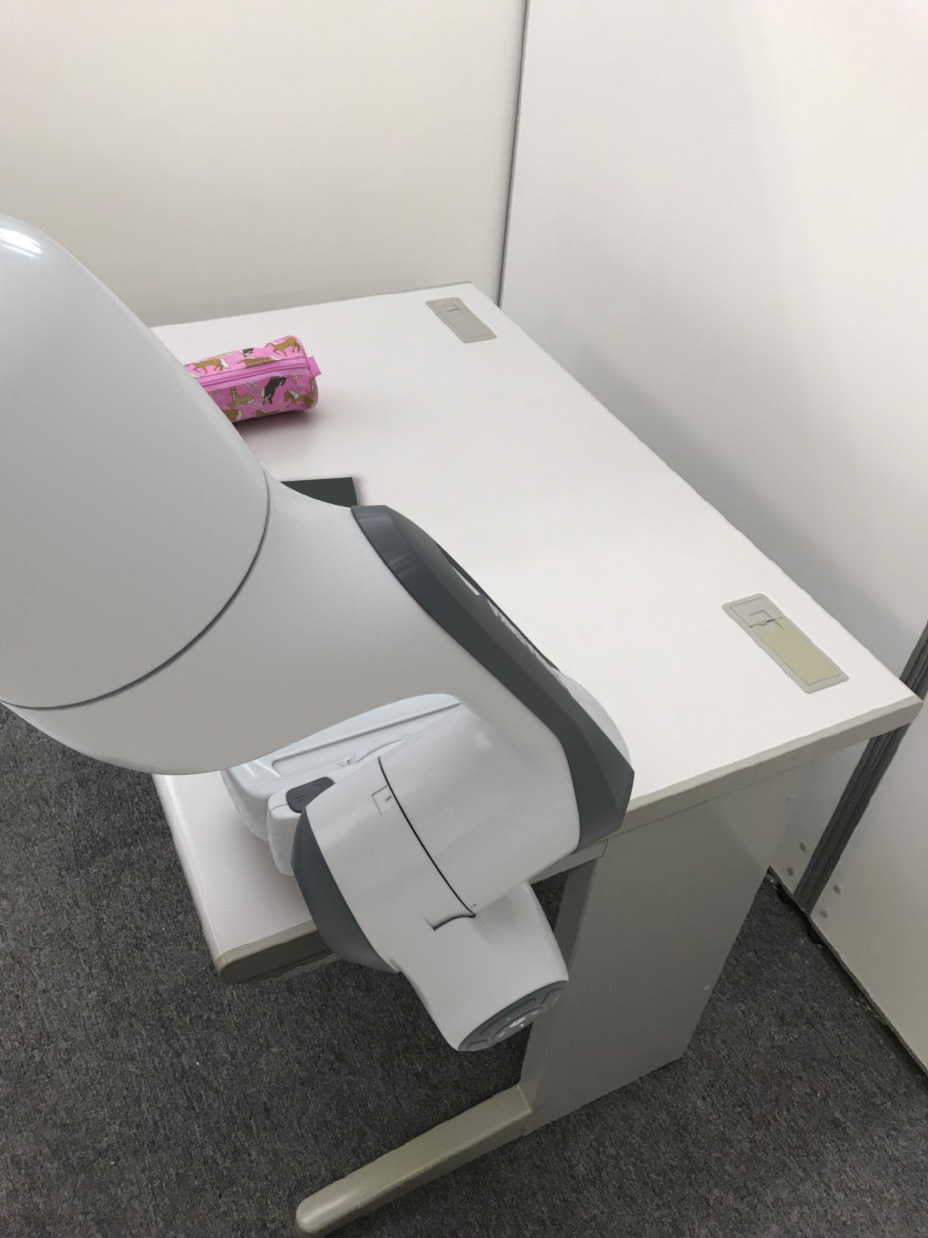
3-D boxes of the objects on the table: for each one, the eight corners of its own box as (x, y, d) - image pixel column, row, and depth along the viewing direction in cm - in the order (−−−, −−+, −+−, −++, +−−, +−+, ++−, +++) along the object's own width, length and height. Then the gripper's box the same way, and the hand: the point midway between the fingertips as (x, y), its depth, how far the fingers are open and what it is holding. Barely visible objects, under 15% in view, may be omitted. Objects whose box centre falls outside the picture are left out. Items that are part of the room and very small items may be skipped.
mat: (195, 545, 92) (194, 540, 92) (195, 491, 99) (194, 486, 98) (362, 533, 95) (362, 528, 95) (352, 481, 102) (352, 476, 101)
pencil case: (140, 469, 101) (125, 393, 95) (114, 427, 107) (99, 352, 101) (328, 424, 110) (325, 351, 104) (295, 387, 115) (291, 316, 109)
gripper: (549, 725, 64) (460, 597, 73) (247, 825, 57) (190, 670, 66) (538, 784, 69) (456, 657, 78) (256, 884, 61) (201, 731, 70)
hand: (331, 663), depth 72 cm, fingers closed on pill bottle, 6 cm apart
